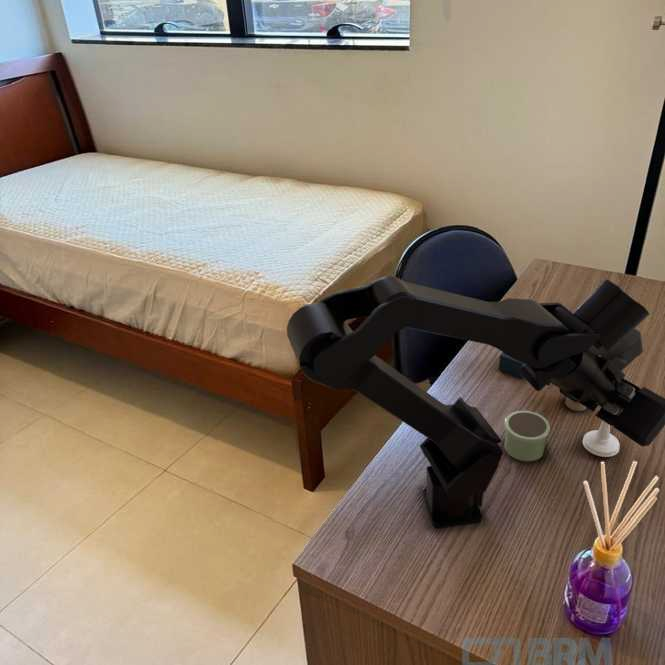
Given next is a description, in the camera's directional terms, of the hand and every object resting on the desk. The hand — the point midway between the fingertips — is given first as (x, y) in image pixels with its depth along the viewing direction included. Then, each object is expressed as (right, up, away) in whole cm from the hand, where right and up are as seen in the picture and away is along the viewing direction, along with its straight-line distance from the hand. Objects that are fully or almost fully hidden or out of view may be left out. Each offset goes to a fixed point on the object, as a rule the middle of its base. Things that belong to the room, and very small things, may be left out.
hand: (616, 405), depth 85 cm
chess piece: (-1, -6, +3) cm, 7 cm away
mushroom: (-1, -1, +12) cm, 12 cm away
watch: (-7, +4, +21) cm, 23 cm away
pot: (-11, -7, +4) cm, 14 cm away
